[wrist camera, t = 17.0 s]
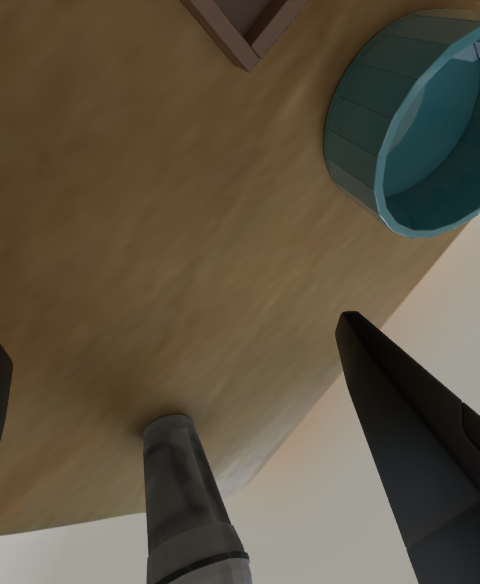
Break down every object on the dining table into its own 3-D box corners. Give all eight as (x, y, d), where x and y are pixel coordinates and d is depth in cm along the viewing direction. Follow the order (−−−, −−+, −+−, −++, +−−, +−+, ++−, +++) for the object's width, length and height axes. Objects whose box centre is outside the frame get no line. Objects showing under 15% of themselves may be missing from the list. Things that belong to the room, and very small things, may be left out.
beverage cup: (110, 431, 31) (142, 830, 16) (190, 393, 31) (290, 750, 17) (149, 461, 36) (199, 787, 21) (217, 428, 36) (312, 727, 22)
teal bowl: (300, 81, 18) (355, 105, 15) (482, -38, 18) (586, -43, 14) (345, 227, 25) (390, 268, 22) (476, 146, 25) (545, 174, 21)
